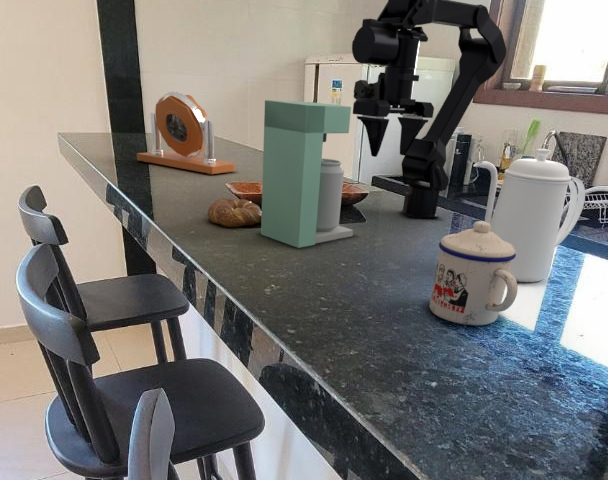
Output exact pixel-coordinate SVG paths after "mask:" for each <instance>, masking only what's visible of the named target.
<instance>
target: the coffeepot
mask: <svg viewBox="0 0 608 480" xmlns="http://www.w3.org/2000/svg"><path fill="white" fill-rule="evenodd" d="M534 153H535V154H536V155H537V156H536V158H518V159H515V160H514V161H511V163H510V165H509V166H508V168H506V169H504V173H503V176H504V178H503V181H502V184H501V188H500V191H499V194H498V197H497V201H496V203H495V198H496V193H497V186H498V180H499V179H498V178H499V175H498V174H499V173H498V170H497V168H496V166H495V165H494V164H493V163H492V162H489V161H486V160H480V161H478V162H475V163H474V164H473V166H472V167H475V168H482V169H487V170H488V171H489V172H490V185H489V191H488V197H487V204H486V209H485V214H484V215H485V216H484V221H483V222H487V223H489V224H490V225H491V228H490V231H491V232H493V233H495V234H496V235H498V236H499V237H500V238H501V239H502V240H503V241H506V242H508V243H510V244H511V245H512V246H513V247H514V248H515V253H516V256H515V258H514V259H513V260H512V264H511V267H510V271H509V273H511V274H512V275H513V276H514V278H515V279H516V282H517V283H535V282H540V281H543V280H544V279H545V280H546V279H547V277H548V276H549V275H550V273H551V267H552V263H553V258H554V255H555V254H554V253H555V248H557V247H558V246H559V245H560V244H561V243H562V242H563V241H564V240H565V239H566V238H567V237H568V236H569V234H570V233H571V232H572V230H573V229H574V228H575V226H576V225H577V222H578V221H579V218H580V216H581V214H582V211H583V208H584V206H585V200H586V188H585V185H584V182H583V181H582V180H581V179H580V178H578V177H575V176H570V170H569V168H568V167H567V166H566V165H565V164H563V163H561V162H559V161H553V160H548V159H547V158H548V156H550V155H552V154H551V153H552V150H551V149H548V148H536V149H535V152H534ZM568 187H569V191H570V193H569V194H570V195H569V196H570V197H569V199H570V200H569V205H568V209H567V214H566V216H565V218H564V221H563V223H562V225H561V221H562V216H563V211H564V206H565V202H566V201H565V200H566V196H567V191H568ZM494 204H496V205H495V207H494ZM493 209H494V210H493ZM560 225H561V226H560Z"/></svg>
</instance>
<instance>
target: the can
mask: <svg viewBox="0 0 608 480" xmlns="http://www.w3.org/2000/svg"><path fill="white" fill-rule="evenodd" d="M341 164H342V161H340V160H337V159H332V158H323V157H322V160H321V172H320V185H319V198H318V211H317V224H316V231H318V232H327V231H332V230H334V228H336V227H337V226H340V215H341V206H342V205H341V204H342V196H343V184H344V173H345V170H344V169H343V168H342V166H341Z"/></svg>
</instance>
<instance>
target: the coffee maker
mask: <svg viewBox="0 0 608 480" xmlns="http://www.w3.org/2000/svg"><path fill="white" fill-rule="evenodd" d="M351 113H352V106H350V105H349V106H348V105H340V104H332V103H331V104H330V103H321V102H312V101H297V100H296V101H293V100H272V99H271V100H269V99H265V100H264V115H263V117H264V121H263V148H262V149H263V151H262V152H263V153H262V154H263V155H262V185H261V186H262V187H261V212H262V217H261V222H260V224H261V225H260V235H261V236H264V237H267V238H270V239H272V240H275V241H278V242H281V243H284V244H286V245H289V246H291V247H294V248H297V249H300V248H305V247H310V246H315V245H316V244H319V243H325V242H331V241H335V240H340V239H345V238H350V237H351V238H352V237H353V234H354V229H352V228H348V227H344V226H341V225H338V226H337V227H336V228H334V230H332V231H327V232H318V231H316V224H317V211H318V198H319V185H320V172H321V160H322V158H323V148H324V147H323V145H324V143H326V142H327V135H328V134H349V133H350V123H351Z"/></svg>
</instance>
